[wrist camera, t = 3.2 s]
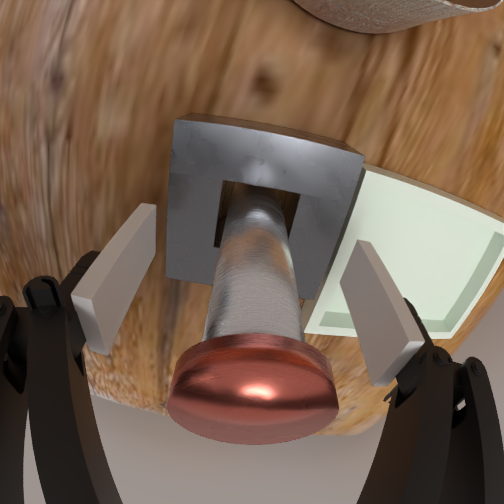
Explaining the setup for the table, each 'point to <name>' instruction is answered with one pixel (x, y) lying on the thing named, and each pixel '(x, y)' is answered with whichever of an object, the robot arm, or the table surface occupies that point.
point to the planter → (390, 12)
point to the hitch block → (262, 174)
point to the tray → (412, 252)
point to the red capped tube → (253, 340)
